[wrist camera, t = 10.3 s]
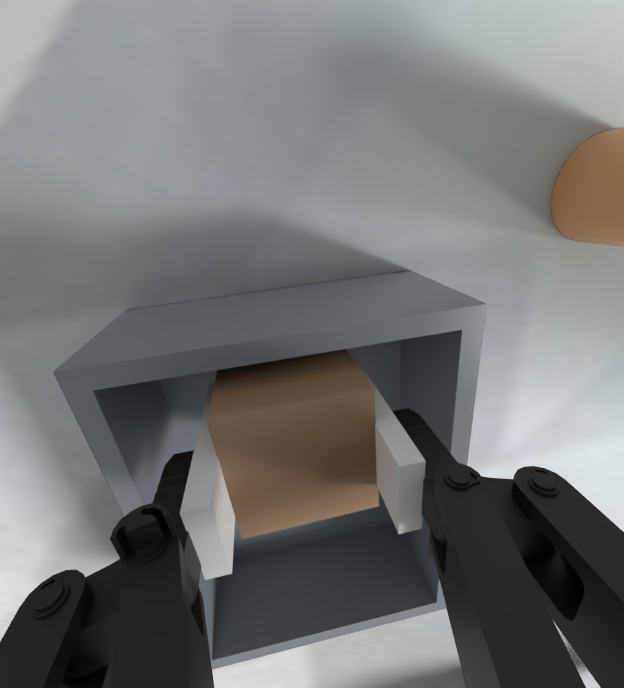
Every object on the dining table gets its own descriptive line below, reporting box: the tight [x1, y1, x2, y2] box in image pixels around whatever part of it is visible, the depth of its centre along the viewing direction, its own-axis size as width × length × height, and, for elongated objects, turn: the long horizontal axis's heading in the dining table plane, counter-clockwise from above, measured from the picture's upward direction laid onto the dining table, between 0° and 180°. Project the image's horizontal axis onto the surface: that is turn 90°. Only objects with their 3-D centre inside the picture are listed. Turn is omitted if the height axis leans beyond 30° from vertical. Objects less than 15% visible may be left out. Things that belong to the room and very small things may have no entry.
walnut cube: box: [207, 349, 379, 539], centre depth 13 cm, size 5×5×5 cm
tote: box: [54, 270, 487, 669], centre depth 17 cm, size 18×14×6 cm
